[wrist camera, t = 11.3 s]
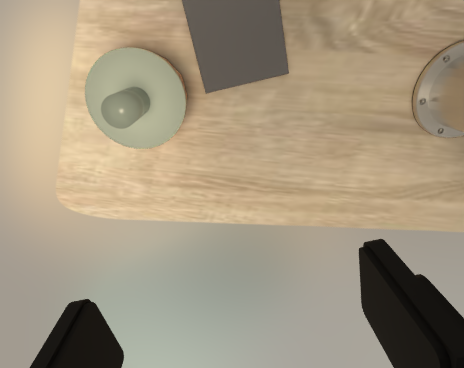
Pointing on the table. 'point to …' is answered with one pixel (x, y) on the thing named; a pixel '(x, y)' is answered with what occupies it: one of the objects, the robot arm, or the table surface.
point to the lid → (135, 97)
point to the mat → (236, 41)
